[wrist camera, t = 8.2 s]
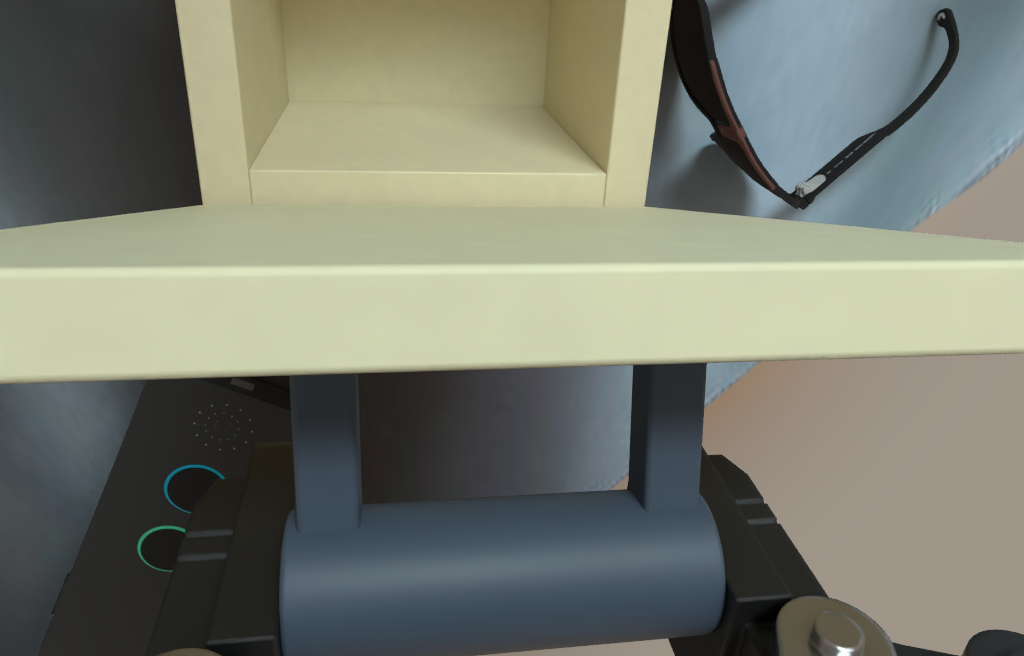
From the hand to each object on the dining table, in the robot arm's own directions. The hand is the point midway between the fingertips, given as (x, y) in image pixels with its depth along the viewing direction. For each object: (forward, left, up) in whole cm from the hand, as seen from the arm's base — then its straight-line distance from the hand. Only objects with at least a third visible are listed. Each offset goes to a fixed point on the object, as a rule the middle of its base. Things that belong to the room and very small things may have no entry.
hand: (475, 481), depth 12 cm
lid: (-2, -2, -4) cm, 5 cm away
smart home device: (+24, +2, -23) cm, 33 cm away
